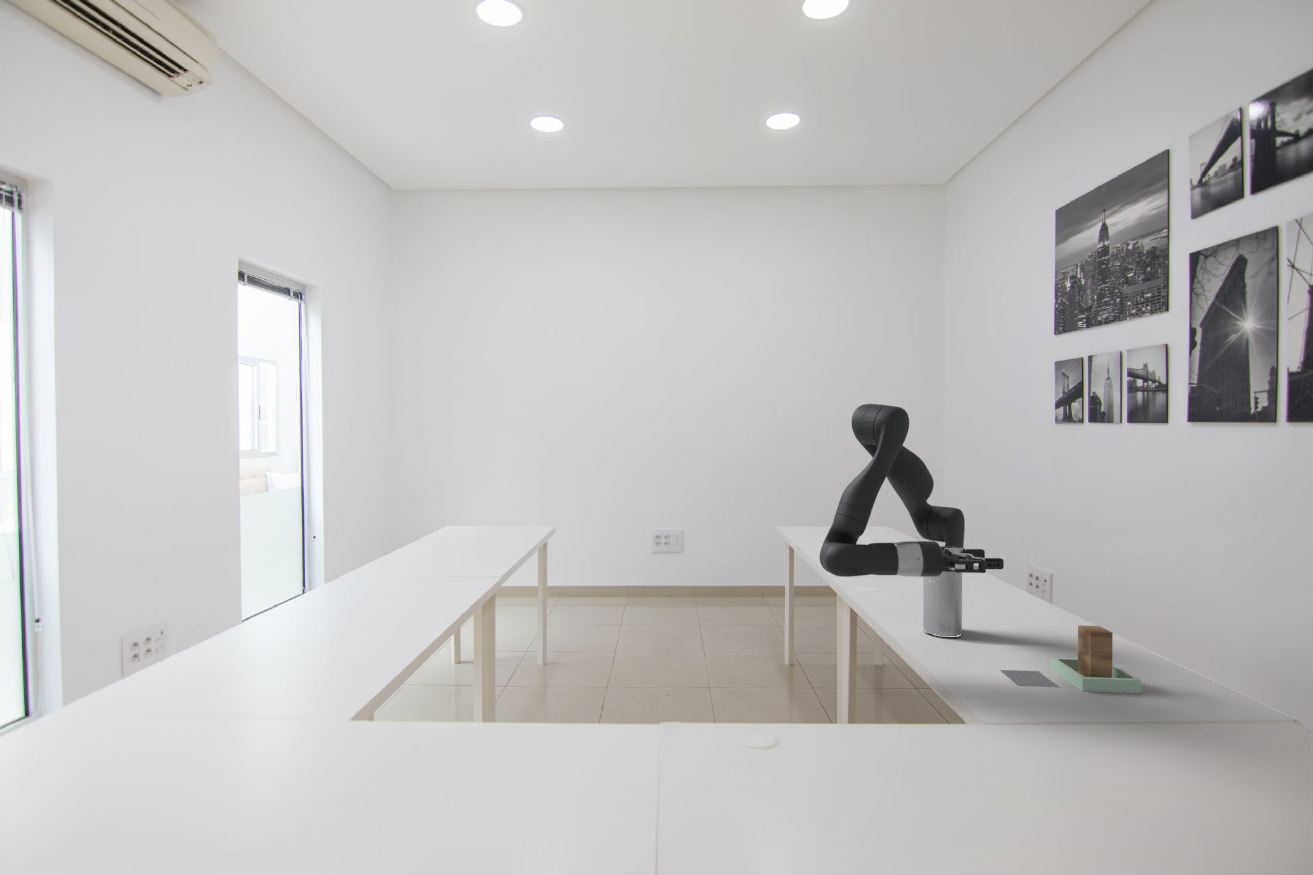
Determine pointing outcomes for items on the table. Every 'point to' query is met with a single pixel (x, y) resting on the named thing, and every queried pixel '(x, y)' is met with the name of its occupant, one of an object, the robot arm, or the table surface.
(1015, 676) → the mount plate
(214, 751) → the table surface
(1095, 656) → the block
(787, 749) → the table surface
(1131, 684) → the tray
